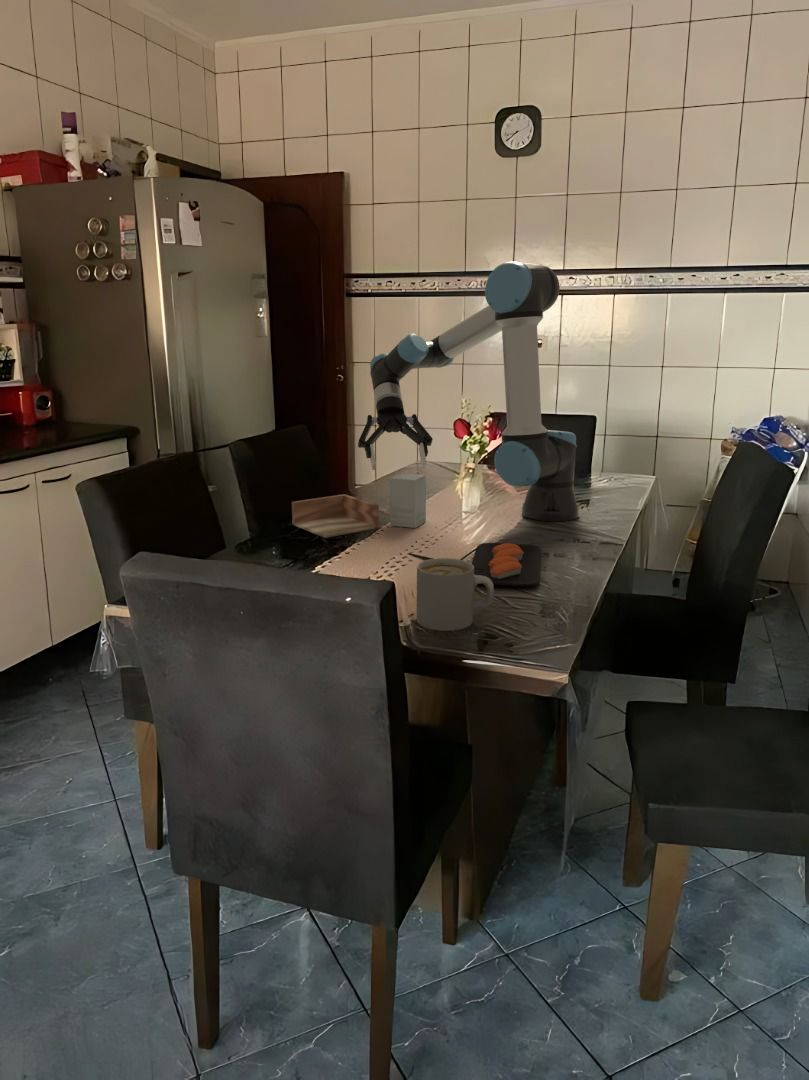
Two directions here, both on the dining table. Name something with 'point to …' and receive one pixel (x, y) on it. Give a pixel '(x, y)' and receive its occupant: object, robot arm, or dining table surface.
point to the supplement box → (407, 500)
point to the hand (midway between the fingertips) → (399, 466)
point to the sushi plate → (506, 563)
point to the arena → (335, 515)
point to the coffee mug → (449, 594)
